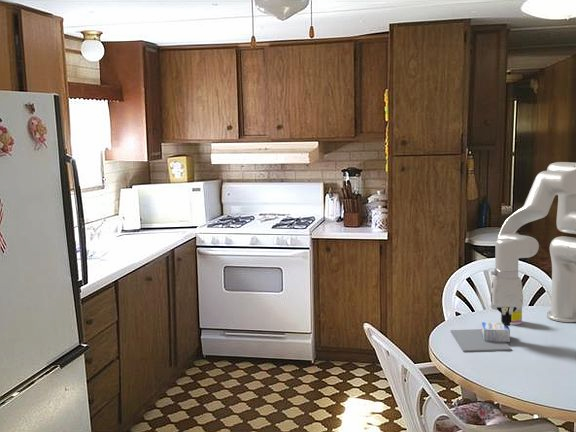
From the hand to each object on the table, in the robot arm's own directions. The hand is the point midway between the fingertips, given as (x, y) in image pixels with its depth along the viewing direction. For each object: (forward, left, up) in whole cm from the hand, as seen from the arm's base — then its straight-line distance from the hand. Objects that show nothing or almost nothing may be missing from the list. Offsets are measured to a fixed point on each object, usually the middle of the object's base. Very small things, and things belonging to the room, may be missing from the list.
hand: (506, 324), depth 215 cm
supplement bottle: (-18, +8, -6) cm, 21 cm away
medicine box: (0, +1, -3) cm, 3 cm away
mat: (0, -9, -6) cm, 11 cm away
